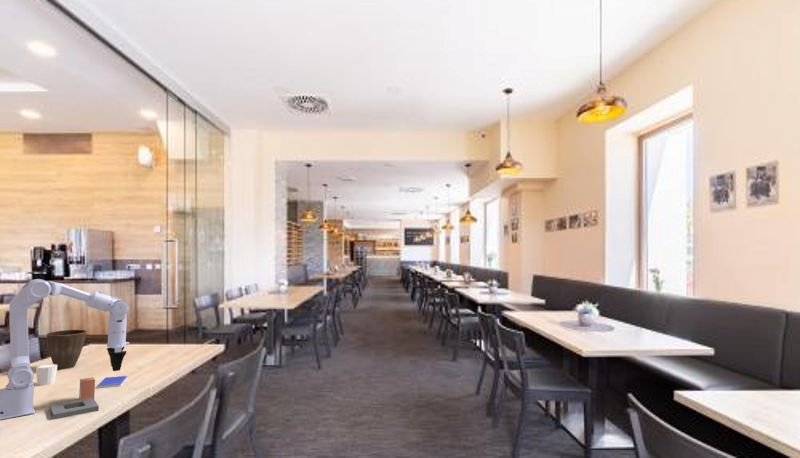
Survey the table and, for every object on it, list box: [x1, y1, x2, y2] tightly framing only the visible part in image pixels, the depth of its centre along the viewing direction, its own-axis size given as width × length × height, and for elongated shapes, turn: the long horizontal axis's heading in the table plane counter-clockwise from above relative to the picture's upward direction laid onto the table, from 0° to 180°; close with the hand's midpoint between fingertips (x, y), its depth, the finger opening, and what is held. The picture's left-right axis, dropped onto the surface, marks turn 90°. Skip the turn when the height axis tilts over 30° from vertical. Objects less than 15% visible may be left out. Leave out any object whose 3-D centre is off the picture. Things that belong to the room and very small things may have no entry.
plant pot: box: [46, 329, 88, 370], centre depth 206 cm, size 15×15×16 cm
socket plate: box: [49, 397, 100, 420], centre depth 151 cm, size 12×12×2 cm
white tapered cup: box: [35, 363, 58, 386], centre depth 181 cm, size 7×7×7 cm
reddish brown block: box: [78, 376, 96, 400], centre depth 162 cm, size 4×4×7 cm
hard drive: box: [96, 375, 128, 389], centre depth 182 cm, size 2×8×12 cm
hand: (115, 368), depth 166 cm, fingers open, 7 cm apart
